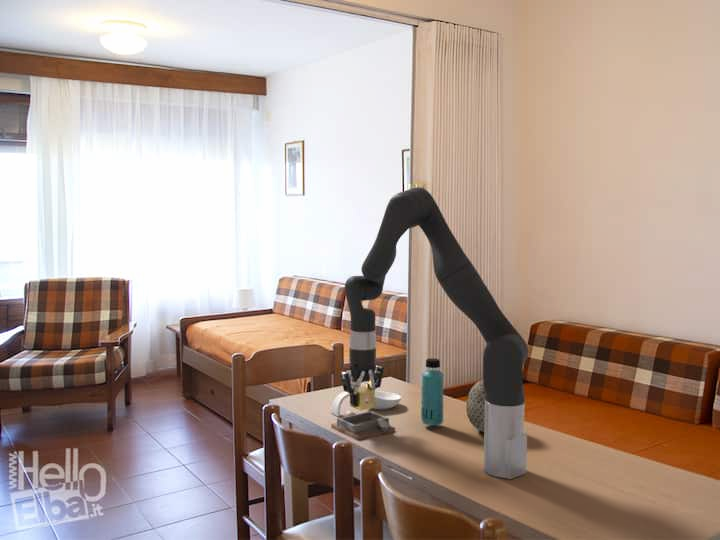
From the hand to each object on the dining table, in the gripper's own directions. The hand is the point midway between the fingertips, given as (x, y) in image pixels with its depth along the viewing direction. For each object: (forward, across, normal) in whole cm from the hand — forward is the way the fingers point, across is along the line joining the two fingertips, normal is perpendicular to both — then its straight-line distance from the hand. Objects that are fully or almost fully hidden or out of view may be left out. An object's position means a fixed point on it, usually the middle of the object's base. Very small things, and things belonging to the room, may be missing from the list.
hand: (362, 404), depth 188 cm
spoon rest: (+8, -13, -14) cm, 21 cm away
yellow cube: (+1, 0, 0) cm, 1 cm away
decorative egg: (+7, -28, +22) cm, 36 cm away
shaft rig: (+7, 0, 0) cm, 7 cm away
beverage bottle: (+7, -18, +10) cm, 22 cm away
